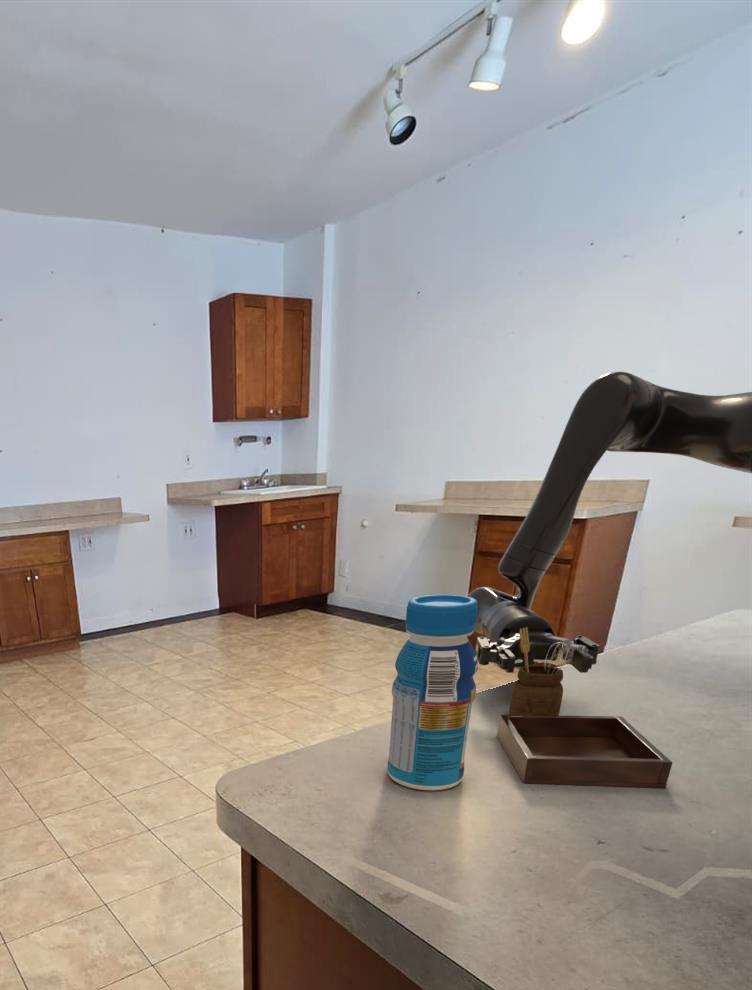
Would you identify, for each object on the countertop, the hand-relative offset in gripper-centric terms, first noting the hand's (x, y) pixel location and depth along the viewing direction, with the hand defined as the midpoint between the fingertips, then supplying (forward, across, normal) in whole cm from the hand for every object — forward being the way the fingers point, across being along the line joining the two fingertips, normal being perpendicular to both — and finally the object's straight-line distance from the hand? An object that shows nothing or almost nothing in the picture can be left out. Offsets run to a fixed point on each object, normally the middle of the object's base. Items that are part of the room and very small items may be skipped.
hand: (548, 665), depth 81 cm
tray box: (+11, +1, +8) cm, 14 cm away
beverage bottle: (+17, -16, +8) cm, 25 cm away
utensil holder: (-2, 0, +8) cm, 9 cm away
